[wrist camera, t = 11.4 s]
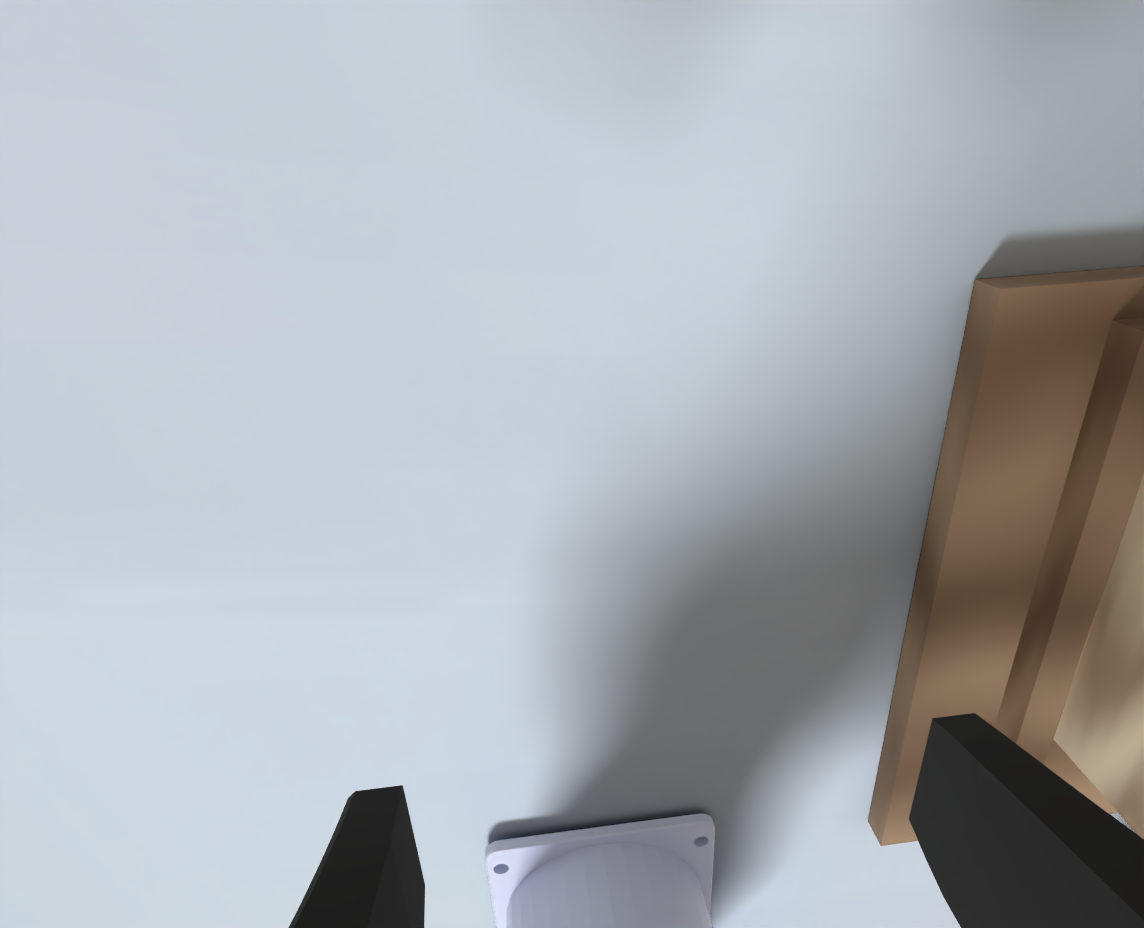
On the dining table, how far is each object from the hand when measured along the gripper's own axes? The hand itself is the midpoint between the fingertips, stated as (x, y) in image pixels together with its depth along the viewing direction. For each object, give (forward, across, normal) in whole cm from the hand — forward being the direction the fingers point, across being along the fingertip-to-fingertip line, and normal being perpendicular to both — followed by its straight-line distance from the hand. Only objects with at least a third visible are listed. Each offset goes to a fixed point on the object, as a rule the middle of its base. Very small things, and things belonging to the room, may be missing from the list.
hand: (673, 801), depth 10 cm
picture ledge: (+10, -17, +6) cm, 21 cm away
